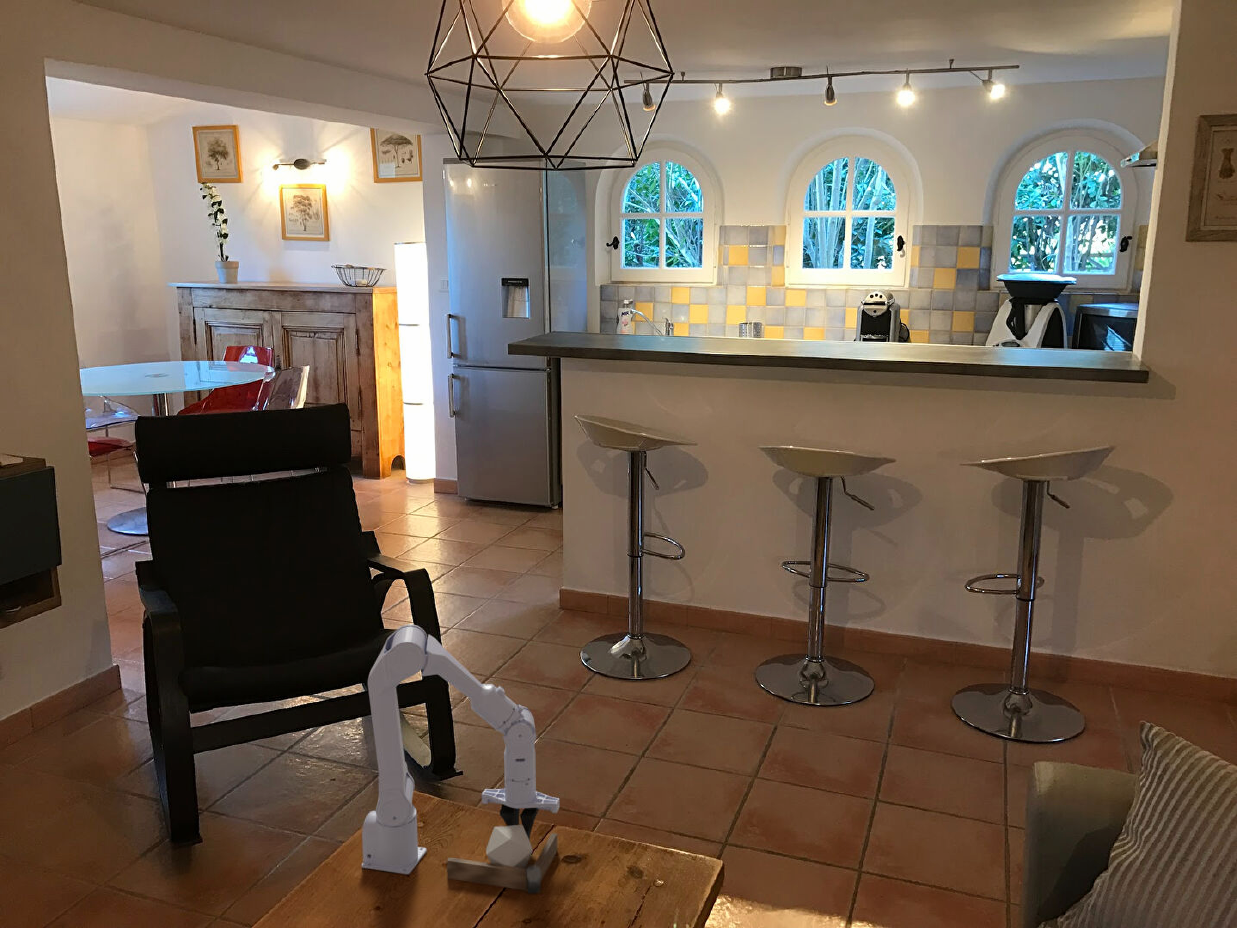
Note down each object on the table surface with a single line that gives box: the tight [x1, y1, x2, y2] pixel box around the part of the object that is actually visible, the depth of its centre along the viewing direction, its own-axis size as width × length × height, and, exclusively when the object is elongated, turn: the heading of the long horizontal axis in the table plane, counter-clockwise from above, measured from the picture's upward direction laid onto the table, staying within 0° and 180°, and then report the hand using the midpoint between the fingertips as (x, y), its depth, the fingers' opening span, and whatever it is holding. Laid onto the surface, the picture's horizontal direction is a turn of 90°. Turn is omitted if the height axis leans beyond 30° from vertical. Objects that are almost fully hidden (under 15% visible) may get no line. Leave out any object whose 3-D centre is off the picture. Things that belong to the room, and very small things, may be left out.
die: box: [485, 824, 533, 869], centre depth 181 cm, size 8×9×10 cm
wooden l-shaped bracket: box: [446, 832, 558, 895], centre depth 183 cm, size 17×14×4 cm
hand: (521, 841), depth 187 cm, fingers closed
